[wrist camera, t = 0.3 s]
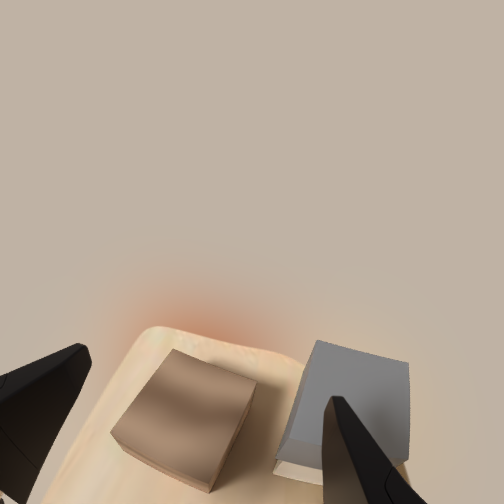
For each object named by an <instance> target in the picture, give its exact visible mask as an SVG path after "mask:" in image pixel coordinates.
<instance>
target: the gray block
mask: <svg viewBox="0 0 504 504" xmlns="http://www.w3.org/2000/svg"><path fill="white" fill-rule="evenodd" d="M408 366H409V364H408V363H406V362H402V361H398V360H393V359H389V358H385V357H380V356H377V355H373V354H369V353H364V352H361V351H357V350H353V349H349V348H345V347H342V346H338V345H334V344H331V343H327V342H323V341H320V340H317V341H316V343H315V346H314V348H313V350H312V353H311V355H310V357H309V360H308V362H307V364H306V367H305V369H304V371H303V374H302V378H301V381H300V385H299V388H298V391H297V394H296V398H295V401H294V404H293V407H292V410H291V413H290V416H289V419H288V422H287V425H286V428H285V431H284V434H283V437H282V440H281V443H280V446H279V448H278V451H277V454H276V457H275V459H278V460H282V461H285V462H289V463H293V464H297V465H301V466H305V467H310V468H314V469H319V470H322V455H321V450H322V434H323V416H324V410H325V408H326V406H327V403H328V401H329V399H330V397H331V396H333V395H335V396H343V397H344V398H345V399H346V401H347V402H348V403H349V405H350V406H351V408H352V409H353V410H354V412H355V413H356V415H357V416H358V417H359V419H360V420H361V421H362V423H363V424H364V426H365V427H366V428H367V430H368V431H369V432H370V434H371V435H372V437H373V438H374V439H375V441H376V442H377V443H378V445H379V446H380V448H381V449H382V450H383V452H384V453H385V454H386V456H387V457H388V458H389V460H390V461H391V463H392V464H393V466H395V468H396V467H397V466H399V465H400V464H402V463H404V462H405V461H407V460H408V457H409V438H410V383H409V367H408Z"/></svg>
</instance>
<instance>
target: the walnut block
mask: <svg viewBox="0 0 504 504" xmlns="http://www.w3.org/2000/svg"><path fill="white" fill-rule="evenodd" d="M256 384H257V381H254V380H251V379H249V378H246V377H243V376H240V375H237V374H235V373H232V372H229V371H227V370H224V369H221V368H219V367H216V366H214V365H211V364H209V363H206V362H204V361H201V360H199V359H196V358H194V357H191V356H189V355H187V354H184V353H182V352H180V351H178V350H175V349H172V351H171V352H170V353H169V354H168V356H167V357H166V358H165V360H164V361H163V362H162V364H161V365H160V366H159V368H158V369H157V370H156V372H155V373H154V374H153V376H152V377H151V378H150V380H149V381H148V382H147V383H146V385H145V386H144V387H143V389H142V390H141V391H140V393H139V394H138V395H137V397H136V398H135V399H134V401H133V402H132V403H131V405H130V406H129V407H128V409H127V410H126V411H125V413H124V414H123V415H122V417H121V418H120V419H119V421H118V422H117V423H116V425H115V426H114V427H113V429H112V430H111V431H110V433H111V435H112V436H113V437H114V439H115V440H116V441H117V443H118V444H119V445H120V446H121V448H122V449H123V450H124V451H125V452H127V453H128V454H130V455H132V456H133V457H135V458H137V459H138V460H140V461H142V462H144V463H145V464H147V465H149V466H151V467H153V468H155V469H156V470H158V471H160V472H162V473H164V474H166V475H168V476H170V477H172V478H174V479H177V480H179V481H181V482H183V483H185V484H187V485H190V486H192V487H194V488H197V489H199V490H201V491H204V492H206V493H209V492H210V491H211V489H212V487H213V485H214V483H215V481H216V479H217V477H218V475H219V473H220V471H221V469H222V467H223V465H224V463H225V461H226V459H227V456H228V454H229V452H230V450H231V448H232V446H233V444H234V442H235V440H236V437H237V435H238V433H239V431H240V429H241V427H242V424H243V422H244V420H245V418H246V416H247V413H248V411H249V409H250V407H251V403H252V400H253V396H254V392H255V388H256Z"/></svg>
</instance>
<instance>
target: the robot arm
mask: <svg viewBox="0 0 504 504" xmlns="http://www.w3.org/2000/svg"><path fill="white" fill-rule="evenodd" d="M91 365H92V361H91V357H90V354H89V350H88V348H87V346H86V345H83V344H80V343H76V344H74V345H71V346H69V347H67V348H65V349H62V350H60V351H57V352H56V353H53V354H51V355H49V356H46V357H44V358H41V359H39V360H37V361H34V362H32V363H30V364H27V365H25V366H23V367H20V368H18V369H16V370H13V371H11V372H9V373H6V374H4V375H1V376H0V504H4V501H3V499H2V498H1V497H2V495H3V493H5V494H6V495H7V496H9V497H10V498H11V499H13V500H14V501H15V502H17V503H18V504H26V503H27V500H28V498H29V495H30V493H31V491H32V488H33V486H34V483H35V481H36V479H37V477H38V475H39V473H40V470H41V468H42V466H43V464H44V461H45V459H46V457H47V455H48V453H49V451H50V449H51V447H52V445H53V443H54V441H55V439H56V437H57V435H58V433H59V431H60V429H61V427H62V425H63V424H64V422H65V420H66V418H67V416H68V414H69V412H70V410H71V408H72V407H73V405H74V403H75V401H76V399H77V397H78V395H79V393H80V391H81V389H82V386H83V384H84V382H85V379H86V377H87V375H88V373H89V370H90V368H91ZM321 455H322V475H323V500H324V504H427V503H426V502H425V501H424V500H423V499H422V498H421V497H420V496H419V495H418V494H417V493H416V492H415V491H414V490H413V489H412V488H411V487H410V485H409V484H408V483H407V482H406V481H405V480H404V478H403V477H402V476H401V474H400V473H399V472H398V471H397V469H396V468H395V466H393V464H392V463H391V461H390V460H389V458H388V457H387V456H386V454H385V453H384V452H383V450H382V449H381V448H380V446H379V445H378V443H377V442H376V441H375V439H374V438H373V437H372V435H371V434H370V432H369V431H368V430H367V428H366V427H365V426H364V424H363V423H362V421H361V420H360V419H359V417H358V416H357V415H356V413H355V412H354V410H353V409H352V408H351V406H350V405H349V403H348V402H347V401H346V399H345V398H344V397H343V396H335V395H333V396H331V397H330V399H329V401H328V403H327V406H326V408H325V410H324V416H323V434H322V450H321Z"/></svg>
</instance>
